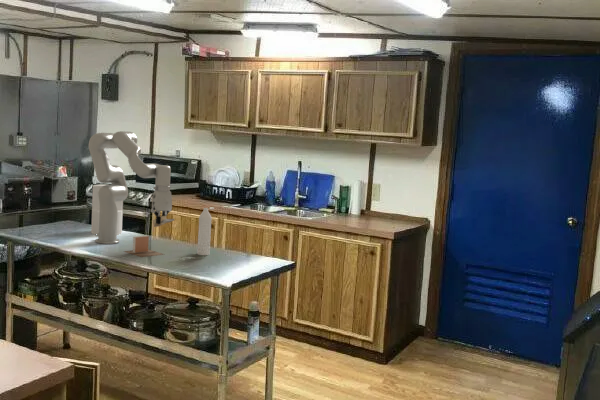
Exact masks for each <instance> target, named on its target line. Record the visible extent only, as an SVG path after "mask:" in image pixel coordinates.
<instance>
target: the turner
mask: <svg viewBox="0 0 600 400" xmlns="http://www.w3.org/2000/svg"><path fill="white" fill-rule="evenodd" d="M160 217H161V222H160V224H157V223H156V218H154V219H153V220H152V223H153V227H154V228H156V227H157V228H158V227H161V226H163V225H165V224H167V223H172V222H173V221H175V218H167V216H162V215H160Z"/></svg>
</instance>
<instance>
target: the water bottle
mask: <svg viewBox="0 0 600 400" xmlns="http://www.w3.org/2000/svg"><path fill="white" fill-rule="evenodd" d="M202 210H203V211H202V212H201V213H200V215H199V217H198V231H197V232H198V233H197V234H198V236H197V252H196V254H197V255H199V256H210V255H211V253H210V252H211V235H212V234H211V233H212V232H211V231H212V218H213V217H212V215H211V213H210V212H209V210H215V207H211V206H210V207H209V208H207V207H203V209H202Z"/></svg>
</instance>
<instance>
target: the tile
mask: <svg viewBox="0 0 600 400" xmlns="http://www.w3.org/2000/svg"><path fill="white" fill-rule="evenodd" d="M149 240H150V235H137V236H136V235H135V236H133V239H132V250H133V252H134V253H138V252H147V251H148V249H149V242H150V241H149Z"/></svg>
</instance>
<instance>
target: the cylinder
mask: <svg viewBox="0 0 600 400" xmlns="http://www.w3.org/2000/svg"><path fill="white" fill-rule="evenodd" d="M105 185H106V183H102V184H94V185H93V184H92V197H91V198H92V199H91V200H92V202H91V207H92V208H91V228H90V229H91V230H90V231H91V232H90V233H91V234H92V235H95V234H98V233H99V211H100V206H99V198H98V192H99V189H100V188H101V187H102V186H105ZM115 203H116V206H117V210H118V214H117V236H120V235H122V234H123V215H124V214H123V210H124V200H123V201H117V202H115ZM121 233H122V234H121ZM119 234H120V235H119Z"/></svg>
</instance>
